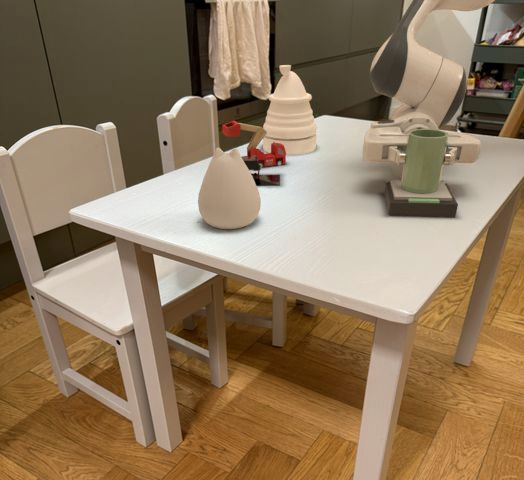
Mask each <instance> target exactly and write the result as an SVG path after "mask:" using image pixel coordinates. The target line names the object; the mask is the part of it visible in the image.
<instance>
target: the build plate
mask: <svg viewBox="0 0 524 480" xmlns="http://www.w3.org/2000/svg"><path fill="white" fill-rule="evenodd" d="M242 159H243V161H244V163H245V164H246V166H247V168H248V169H249V171H253V172H254V173H251V175H252V177H253V179H254V181H255V184H256V186H257V187H280V186H281V175H280V174H261V170H262V168H260V167H261V165H260V161H258V157H251V158H250V159H248V157H242Z"/></svg>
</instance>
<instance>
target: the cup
mask: <svg viewBox="0 0 524 480" xmlns="http://www.w3.org/2000/svg"><path fill="white" fill-rule="evenodd" d="M448 133H449V132H447V131H444V130H440V129H439V130H435V129H416V130H411V131H409V132H408V137H407V144H406V151H405V152H406V159H405V164H402V173H401V179H400V180H401V188H402V189H403V190H405V191H407V192H411V193H418V194H428V193H433V192H436V191H437V190H438V188H439V185H440V180H442V179H441V178H442V174H443V169H444V165H443V164H444V158H445V153H446V148H447V143H448V137H449V134H448Z"/></svg>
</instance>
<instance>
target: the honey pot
mask: <svg viewBox="0 0 524 480" xmlns="http://www.w3.org/2000/svg"><path fill="white" fill-rule="evenodd" d="M291 68H292V65H290V64H281V65H279V68H278V69H279V72H280V74H281V75H282V76H281V77H280V79H279V80H278V83H277V85H276V87H275V89H274V92H273V93H271V94H270V95H268V100H269V102H270V104H269V106H268V109H267V111H266V114H267V115H266V116H265V121H264V123H263V126H262V128H263V129H264V130H265V131H266V132H267V134H266V135H265V136H264V138H263V139H262V146H263V147H262V149H263V152H266V153H271V143H273V142H275V143H280V144H283V145H284V147H285V150H286V156H299V155H306V154H309V153H312V152H314V151H316V149H317V124H316V122H315V116H314V115H313V114H314V113H313V109H312V107H311V104H310V101H312V99H313V96H312V94H311V93H309V92H307V91H306V88H305V85H304V83H303V81H302V79H301V78H300V76H299V75H298V74H297V73H295V71H291Z"/></svg>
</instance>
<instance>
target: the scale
mask: <svg viewBox="0 0 524 480" xmlns="http://www.w3.org/2000/svg"><path fill="white" fill-rule="evenodd" d="M383 197H384V201H385V205H386V206H385V207H386V211H387V215H388V217H416V218H417V217H419V218H420V217H421V218H448V219H449V218H451V219H453V218H456V217H457V210H458V207H459V204H458V202H457V200H456V198H455V196H454V194H453V192H452V191H451V188H450V187H449V184H448V183H445V181H444V180H443V179H441V180H440V185H439V188H438V190H437V191H436V192H433V193H428V194H418V193H411V192H407V191H405V190H403V189H402V188H401V179H394V178H393V179H391V178H390V180H389V181H385V184H384V191H383Z"/></svg>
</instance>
